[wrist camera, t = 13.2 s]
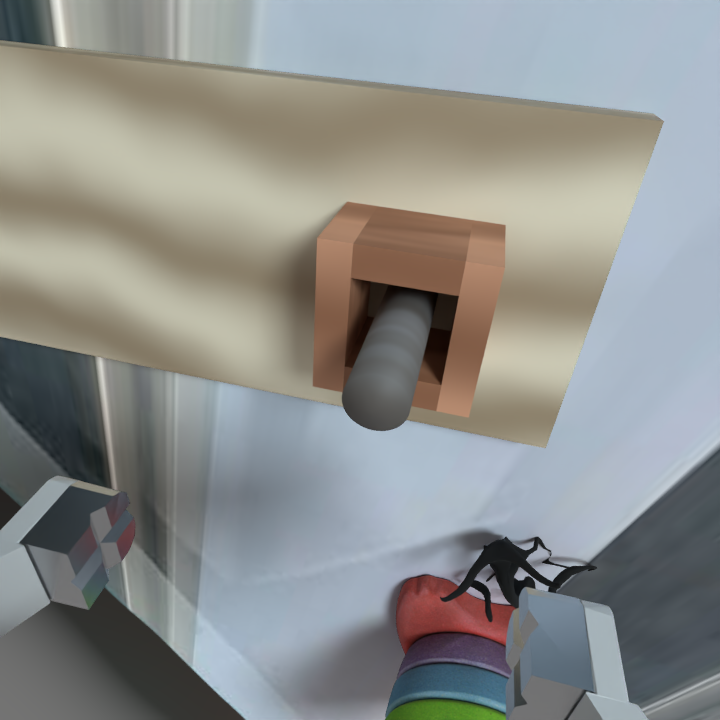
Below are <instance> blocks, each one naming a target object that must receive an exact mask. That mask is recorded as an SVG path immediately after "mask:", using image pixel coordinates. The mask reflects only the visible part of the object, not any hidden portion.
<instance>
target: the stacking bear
mask: <svg viewBox="0 0 720 720" xmlns="http://www.w3.org/2000/svg"><path fill="white" fill-rule="evenodd" d="M458 587H459V586H457V585H456V584H454V583H452V582H450V581H449V580H445V579H441V578H436V577H433V576H430V575H426V576H422V577H418V578H412V579H410V580H408V581H407V582H406V583H405V584H404V585H403V587H402V589H401V591H400V594H399V597H398V602H397V610H396V626H397V632H398V636H399V639H400V643H401V645H402V648H403V650H404V653H405V657H404V660H403V662H402V664H401V667H400V670H399V673H398V676H397V680H396V682H395V684H394V686H393V690H392V693H391V696H390V699H389V703H388V707H387V710H386V719H385V720H506V684H507V681H508V679H509V677H510V675H511V673H512V670H511V669H510V667H509V665H508V664H507V662H506V637H507V630H508V625H509V620H510V618H511V615H512V612H513V610H515V609H516V608H515V607H513V606H505V605H498V604H493V603H491V610H492V616H493V621H492V622H489V621H488V619H487V617H486V613H485V601H483V600H480V599H478V598H475V597H473V596H471V595H470V594H468V593H467V592H464V593H463V594H462V595H460V596H458V597H457V598H455V599H453V600H451V601H448V602H443V601H441V599H440V597H442V598H443V597H446V596H448V595H450V594H451V593H452V592H454V591H455V590H456V589H457V588H458Z"/></svg>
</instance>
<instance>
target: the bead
mask: <svg viewBox="0 0 720 720" xmlns="http://www.w3.org/2000/svg"><path fill="white" fill-rule="evenodd" d="M505 235H506V225H503V224H496V223H489V222H482V221H476V220H469V219H462V218H455V217H448V216H442V215H435V214H428V213H421V212H414V211H408V210H401V209H394V208H387V207H380V206H374V205H367V204H360V203H353V202H347V203H346V204H345V205H344V206H343V207H342V209H341V210H340V211H339V212H338V213H337V215H336V216H335V217H334V218H333V219H332V221H331V222H330V223H329V224H328V225H327V227H326V228H325V229H324V230H323V231H322V233H321V234H320V235H319V236H318V237H317V257H316V290H315V323H314V356H313V387H318V388H323V389H328V390H333V391H338V392H343V390H344V387H345V385H346V383H347V380H348V378H349V376H350V373H351V371H352V369H353V366H354V364H355V362H356V359H357V357H358V355H359V352H360V350H361V348H362V345H363V343H364V341H365V339H366V336H367V334H368V332H369V329H370V327H371V325H372V322H373V320H374V318H375V317H369V316H368V306H369V296H370V285H371V281H372V282H378V283H384V284H390V285H396V286H402V287H408V288H414V289H420V290H425V291H431V292H437V293H443V294H449V295H455V296H458V298H457V303H456V308H455V314H454V319H453V324H452V329H451V331H448V330H442V329H437V328H431V327H430V331H429V335H428V339H427V344H426V348H425V352H424V356H423V360H422V364H421V368H420V372H419V376H418V381H417V385H416V389H415V393H414V397H413V401H412V405H411V406H413V407H418V408H423V409H428V410H433V411H438V412H443V413H447V414H452V415H457V416H462V417H467V418H469V414H470V410H471V406H472V402H473V398H474V394H475V390H476V385H477V381H478V377H479V373H480V369H481V365H482V361H483V357H484V353H485V348H486V344H487V340H488V336H489V332H490V328H491V324H492V320H493V316H494V311H495V307H496V303H497V299H498V295H499V291H500V287H501V283H502V278H503V274H504V270H505Z"/></svg>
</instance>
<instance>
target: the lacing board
mask: <svg viewBox="0 0 720 720" xmlns="http://www.w3.org/2000/svg"><path fill="white" fill-rule="evenodd" d="M663 122H664V121H663V120H661V119H660V118H658V117H657V116H656V115H654V114H651V113H642V112H634V111H625V110H616V109H607V108H598V107H589V106H580V105H571V104H562V103H554V102H545V101H536V100H527V99H518V98H509V97H500V96H491V95H482V94H474V93H465V92H456V91H447V90H438V89H429V88H420V87H411V86H402V85H394V84H385V83H376V82H367V81H358V80H349V79H340V78H331V77H322V76H314V75H305V74H296V73H287V72H278V71H269V70H260V69H251V68H242V67H234V66H225V65H216V64H207V63H198V62H189V61H180V60H171V59H162V58H154V57H145V56H136V55H127V54H118V53H109V52H100V51H91V50H82V49H74V48H65V47H56V46H47V45H38V44H29V43H20V42H11V41H2V40H0V337H4V338H9V339H14V340H19V341H24V342H29V343H34V344H39V345H44V346H48V347H53V348H58V349H63V350H68V351H73V352H78V353H83V354H88V355H92V356H97V357H102V358H107V359H112V360H117V361H122V362H127V363H132V364H136V365H141V366H146V367H151V368H156V369H161V370H166V371H171V372H176V373H180V374H185V375H190V376H195V377H200V378H205V379H210V380H215V381H220V382H225V383H229V384H234V385H239V386H244V387H249V388H254V389H259V390H264V391H269V392H273V393H278V394H283V395H288V396H293V397H298V398H303V399H308V400H313V401H317V402H322V403H327V404H332V405H337V406H342V407H344V409H345V411H346V413H347V414H348V416H349V417H350V418H351V419H352V420H353V421H354V422H356V423H357V424H359V425H361V426H363V427H365V428H367V429H371V430H376V431H386V430H391V429H394V428H397V427H399V426H400V425H402V424H403V423H404V422H405V421H406V420H410V421H415V422H420V423H425V424H430V425H435V426H440V427H445V428H450V429H454V430H459V431H464V432H469V433H474V434H479V435H484V436H489V437H494V438H498V439H503V440H508V441H513V442H518V443H523V444H528V445H533V446H538V447H542V448H546V446H547V443H548V440H549V437H550V434H551V432H552V429H553V426H554V423H555V421H556V418H557V415H558V412H559V410H560V407H561V404H562V401H563V399H564V396H565V393H566V390H567V387H568V385H569V382H570V379H571V376H572V374H573V371H574V368H575V365H576V363H577V360H578V357H579V354H580V352H581V349H582V346H583V343H584V340H585V338H586V335H587V332H588V329H589V327H590V324H591V321H592V318H593V316H594V313H595V310H596V307H597V305H598V302H599V299H600V296H601V293H602V291H603V288H604V285H605V282H606V280H607V277H608V274H609V271H610V269H611V266H612V263H613V260H614V257H615V255H616V252H617V249H618V246H619V244H620V241H621V238H622V235H623V233H624V230H625V227H626V224H627V222H628V219H629V216H630V213H631V210H632V208H633V205H634V202H635V199H636V197H637V194H638V191H639V188H640V186H641V183H642V180H643V177H644V175H645V172H646V169H647V166H648V163H649V161H650V158H651V155H652V152H653V150H654V147H655V144H656V141H657V139H658V136H659V133H660V130H661V128H662V125H663ZM347 202H353V203H360V204H367V205H374V206H380V207H387V208H394V209H401V210H408V211H414V212H421V213H428V214H435V215H442V216H448V217H455V218H462V219H469V220H476V221H482V222H489V223H496V224H503V225H506V235H505V270H504V274H503V278H502V283H501V287H500V291H499V295H498V299H497V303H496V307H495V311H494V316H493V320H492V324H491V328H490V332H489V336H488V340H487V344H486V348H485V353H484V357H483V361H482V365H481V369H480V373H479V377H478V381H477V385H476V390H475V394H474V398H473V402H472V406H471V410H470V414H469V418H467V417H462V416H457V415H452V414H447V413H443V412H438V411H433V410H428V409H423V408H418V407H413V406H411V405H412V401H413V397H414V393H415V389H416V385H417V381H418V376H419V372H420V368H421V364H422V360H423V356H424V352H425V348H426V344H427V339H428V335H429V331H430V327H431V328H437V329H442V330H448V331H451V329H452V324H453V319H454V314H455V308H456V303H457V298H458V296H455V295H449V294H443V293H437V292H431V291H425V290H420V289H414V288H408V287H402V286H396V285H390V284H384V283H378V282H372V281H371V285H370V296H369V306H368V316H369V317H375V318H374V320H373V322H372V325H371V327H370V329H369V332H368V334H367V336H366V339H365V341H364V343H363V345H362V348H361V350H360V352H359V355H358V357H357V359H356V362H355V364H354V366H353V369H352V371H351V373H350V376H349V378H348V380H347V383H346V385H345V387H344V390H343V392H338V391H333V390H328V389H323V388H318V387H313V356H314V323H315V290H316V257H317V237H318V236H319V235H320V234H321V233H322V231H323V230H324V229H325V228H326V227H327V225H328V224H329V223H330V222H331V221H332V219H333V218H334V217H335V216H336V215H337V213H338V212H339V211H340V210H341V209H342V207H343V206H344V205H345V204H346V203H347Z"/></svg>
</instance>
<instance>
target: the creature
mask: <svg viewBox="0 0 720 720" xmlns="http://www.w3.org/2000/svg"><path fill="white" fill-rule="evenodd" d="M538 543H540V544H541V546H542V547H543V548H544V549H546V550H548V549H547V548H546V547H545V546H544V544H543V542H542V540H541V539H540V538H539V537H536V538H535V540H534V546H533V548H531V549H530V550H523V549H521V548H519V547H517V546H516V545H514V544H513V543H512V542H510V540H509V539H508V538H507V537H505V538H504V539H501V540H496V541H494V542H493V543H491V544H489V545H488V546H486V545H484V550H483V552H482V553H481V555H480V556H479V558H478V559H477V561H476V562H475V563H474V565H473V566H472V568H471V569H470V571H469V572H468V574H467V576H466V578H465V580H464V581H463V582H462V583H461V585H460V586H459V587H458V588H457V589H456V590H455V591H454V592H452V593H451V594H450V595H448V596H446V597H443V598H442V597H440V599H441V601H443V602H448V601H451V600H453V599H455V598H457V597H458V596H460V595H462V594H463V593H464V592H466V590H467V589H468V588H469V587H473V588H475V589H476V590H478V591H480V592H481V593H482V594H483V595H484V598H485V613H486V617H487V619H488V621H489V622H492V621H493V616H492V610H491V600H490V596H491V595H490V592H489V589H488V588H487V586H485V585H484V584H483V583H481V582H479V581H476V580H474V579H475V577H476V576H477V574H478V573H479V572H480V571H481V569H483V568H484V567H485V566H486V565H488V564H490V566H491V568H492V569H493V570H494V571H495V573H494V574H493V575H492V576H491V577H489V578H488V579H487V580H486V582H487V581H489V580H490V579H491V578H492V577H493V576H494V575H496V579H497V582H498V584H499V586H500V588H501V590H502V592H503V595H504V597H505V598H506V600H507V601H508V602H509V603H510V604H511V605H512V606H513V607H515V608H516V609H517V608H519V596H520V593H521V591H522V589H523V588H525V587H529V588H533V589H536V588H535V582H534V580H533V578H535V579H536V580H538V581H539V582H541V583H543V584H545V585H547V586H550V587H549V589H548V592H551V593H556V590H557V589H558V588H560V587H561V585H562V584H563V583H564V582H565V581H566V580H568V579H569V578H570V577H571V576H572V575H574V574H576V573H579V572H581V571H584V570H587V569H592V570H595V569H597V567H595V566H572V567H566V566H561V565H557V564H554V563H551V562H549V558H548V559H547V560H545V561H544V562H542V563H545V564H551V565H556V566H560V567H564V568H567V569H565V570H563V571H562V572H561V573H559V574H558V576H557V577H556V578H555V579H554V580H553V582H552V581H550V580H548V579H546V578H545V577H543V576H542V575H540V574H539V573H538V572H537V571H536V570H535V569H534V568H532V566H531V565H530V564H529V563H528V562H527V561H526V559H527V557H528V556H529V555H530V554H531V553H533V552H534V551H536V550H537V548H538ZM548 551H549V552H551V551H550V550H548ZM550 556H551V553H550ZM519 567H521V568H522V569H524V570H525V571H526V572H527V573H528V574H530V575H531V576H532V577H533V578H531V577H529V576H527V577H525V579H524V580H520V581H518V580H517V579H516V578H514V575H515V573H516V572H517V570H518V568H519ZM588 571H590V570H588Z"/></svg>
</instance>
